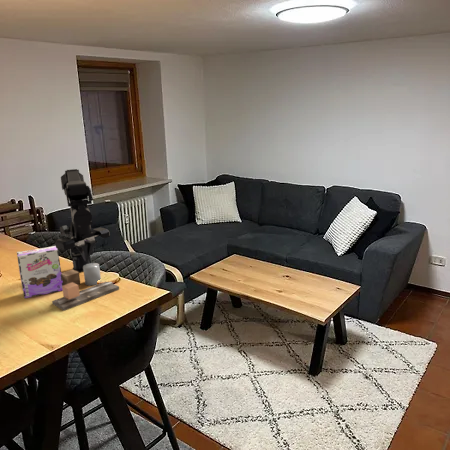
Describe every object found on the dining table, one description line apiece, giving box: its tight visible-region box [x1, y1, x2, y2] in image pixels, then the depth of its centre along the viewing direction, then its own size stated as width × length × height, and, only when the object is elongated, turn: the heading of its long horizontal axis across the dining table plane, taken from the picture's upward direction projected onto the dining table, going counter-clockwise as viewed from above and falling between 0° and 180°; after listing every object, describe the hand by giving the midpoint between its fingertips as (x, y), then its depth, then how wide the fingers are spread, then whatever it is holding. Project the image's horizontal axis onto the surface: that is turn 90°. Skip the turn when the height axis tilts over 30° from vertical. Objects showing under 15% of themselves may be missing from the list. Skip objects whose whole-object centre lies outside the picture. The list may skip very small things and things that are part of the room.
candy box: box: [16, 245, 63, 299], centre depth 155 cm, size 14×6×16 cm, turn 117°
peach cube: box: [62, 282, 80, 299], centre depth 147 cm, size 4×4×4 cm
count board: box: [51, 281, 120, 311], centre depth 152 cm, size 22×8×2 cm, turn 138°
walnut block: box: [61, 268, 81, 286], centre depth 163 cm, size 5×5×5 cm
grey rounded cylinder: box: [82, 262, 102, 287], centre depth 164 cm, size 6×6×7 cm
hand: (86, 261), depth 151 cm, fingers closed
